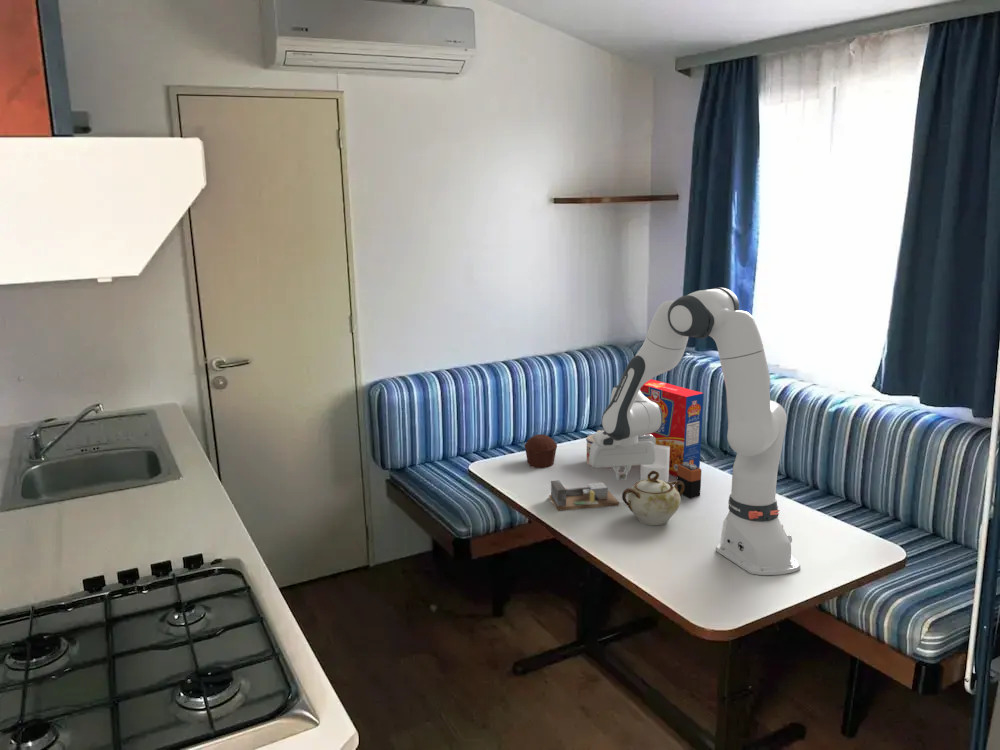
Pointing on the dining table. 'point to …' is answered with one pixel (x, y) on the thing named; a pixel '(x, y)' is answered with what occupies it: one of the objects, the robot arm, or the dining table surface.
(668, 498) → the sugar bowl
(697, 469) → the battery
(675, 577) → the dining table surface
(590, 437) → the teacup with lid
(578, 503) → the bench
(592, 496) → the telltale marker
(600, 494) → the gauge plunger
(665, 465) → the base with upright slab
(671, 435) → the pasta box
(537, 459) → the muffin
